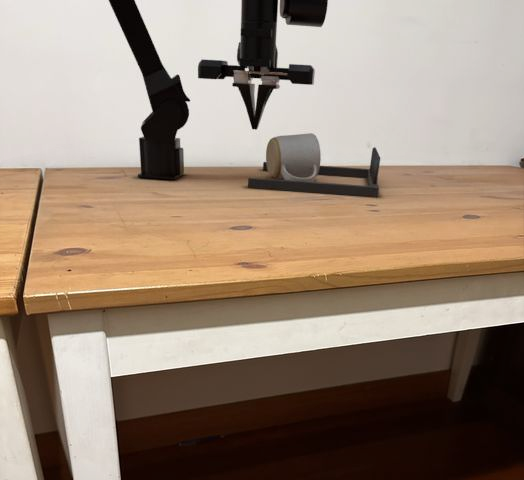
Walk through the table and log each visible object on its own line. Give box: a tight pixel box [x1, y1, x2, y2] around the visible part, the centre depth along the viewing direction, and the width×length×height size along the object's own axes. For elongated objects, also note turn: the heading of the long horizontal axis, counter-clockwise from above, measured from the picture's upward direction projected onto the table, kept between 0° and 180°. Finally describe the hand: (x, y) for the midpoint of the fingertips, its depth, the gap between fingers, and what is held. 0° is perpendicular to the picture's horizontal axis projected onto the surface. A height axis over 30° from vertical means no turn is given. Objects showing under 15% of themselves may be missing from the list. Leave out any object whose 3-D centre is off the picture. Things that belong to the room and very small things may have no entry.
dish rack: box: [247, 146, 381, 198], centre depth 91 cm, size 21×19×6 cm
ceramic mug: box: [265, 132, 322, 182], centre depth 91 cm, size 11×8×8 cm
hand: (254, 129), depth 90 cm, fingers closed
